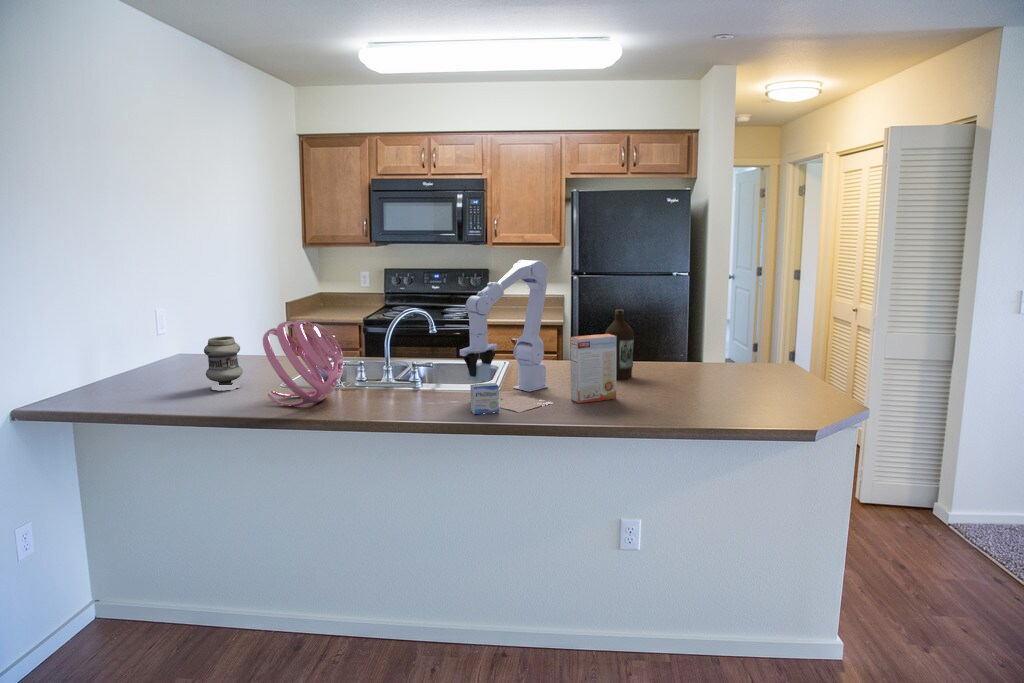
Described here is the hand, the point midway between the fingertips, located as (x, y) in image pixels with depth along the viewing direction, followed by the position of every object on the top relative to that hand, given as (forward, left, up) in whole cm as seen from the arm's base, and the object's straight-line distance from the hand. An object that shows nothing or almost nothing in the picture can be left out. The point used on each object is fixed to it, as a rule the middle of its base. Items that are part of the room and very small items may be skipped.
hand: (479, 374), depth 231 cm
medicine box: (+10, +13, -8) cm, 18 cm away
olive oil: (-57, +13, -8) cm, 59 cm away
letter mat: (-5, +13, -8) cm, 16 cm away
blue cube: (0, 0, -2) cm, 2 cm away
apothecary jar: (+51, -77, -8) cm, 93 cm away
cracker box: (-25, +27, -8) cm, 38 cm away
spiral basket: (+41, -38, -8) cm, 57 cm away
